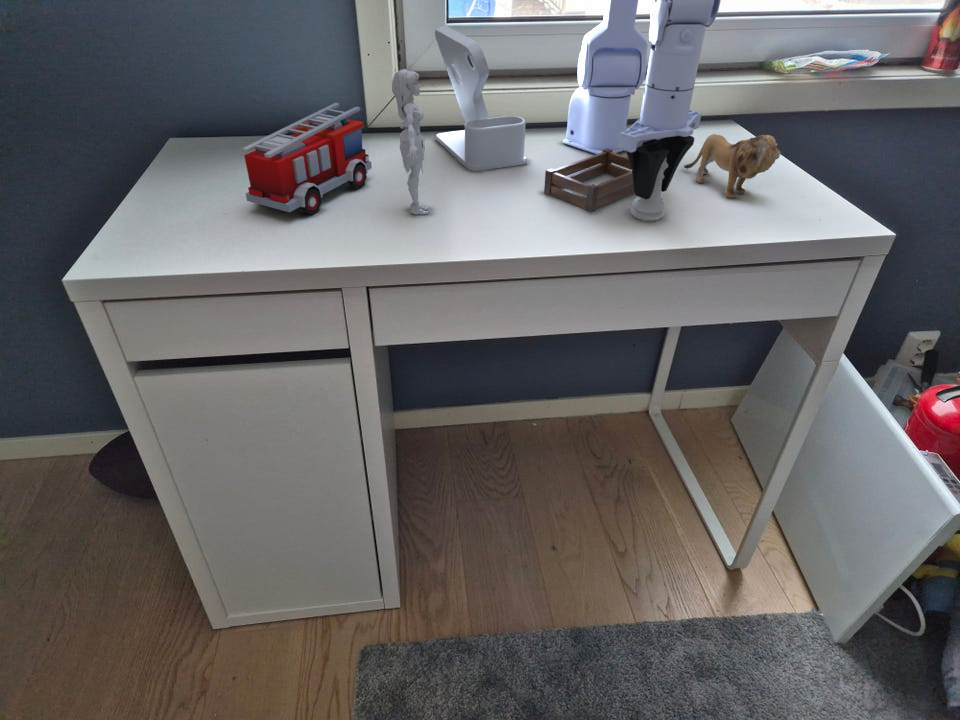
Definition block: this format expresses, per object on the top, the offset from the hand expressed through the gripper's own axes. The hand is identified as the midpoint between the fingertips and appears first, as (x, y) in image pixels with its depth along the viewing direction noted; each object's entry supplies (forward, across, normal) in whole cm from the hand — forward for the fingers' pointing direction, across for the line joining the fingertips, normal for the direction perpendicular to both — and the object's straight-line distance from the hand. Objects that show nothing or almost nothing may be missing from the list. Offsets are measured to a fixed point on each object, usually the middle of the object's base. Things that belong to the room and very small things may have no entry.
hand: (650, 193), depth 86 cm
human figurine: (+3, -23, +22) cm, 32 cm away
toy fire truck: (+3, -30, +36) cm, 47 cm away
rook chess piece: (+3, 0, 0) cm, 3 cm away
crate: (+3, +2, +10) cm, 11 cm away
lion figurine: (+3, +17, -2) cm, 17 cm away
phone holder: (+3, 0, +34) cm, 34 cm away
